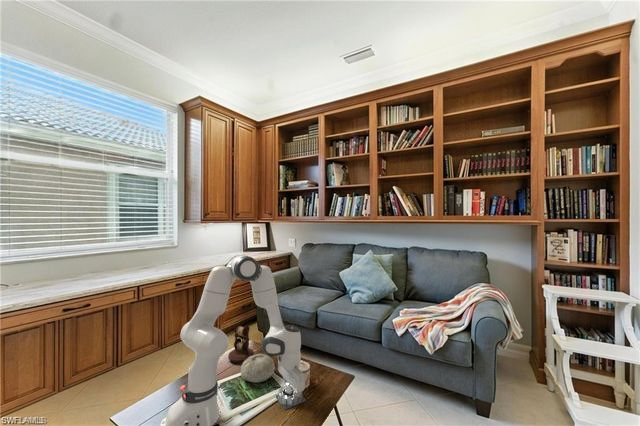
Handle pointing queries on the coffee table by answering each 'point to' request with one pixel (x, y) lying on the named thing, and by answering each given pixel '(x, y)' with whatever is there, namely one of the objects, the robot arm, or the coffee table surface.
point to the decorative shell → (257, 368)
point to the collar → (289, 399)
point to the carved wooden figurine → (241, 345)
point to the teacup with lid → (305, 372)
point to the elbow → (288, 389)
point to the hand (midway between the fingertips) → (290, 390)
